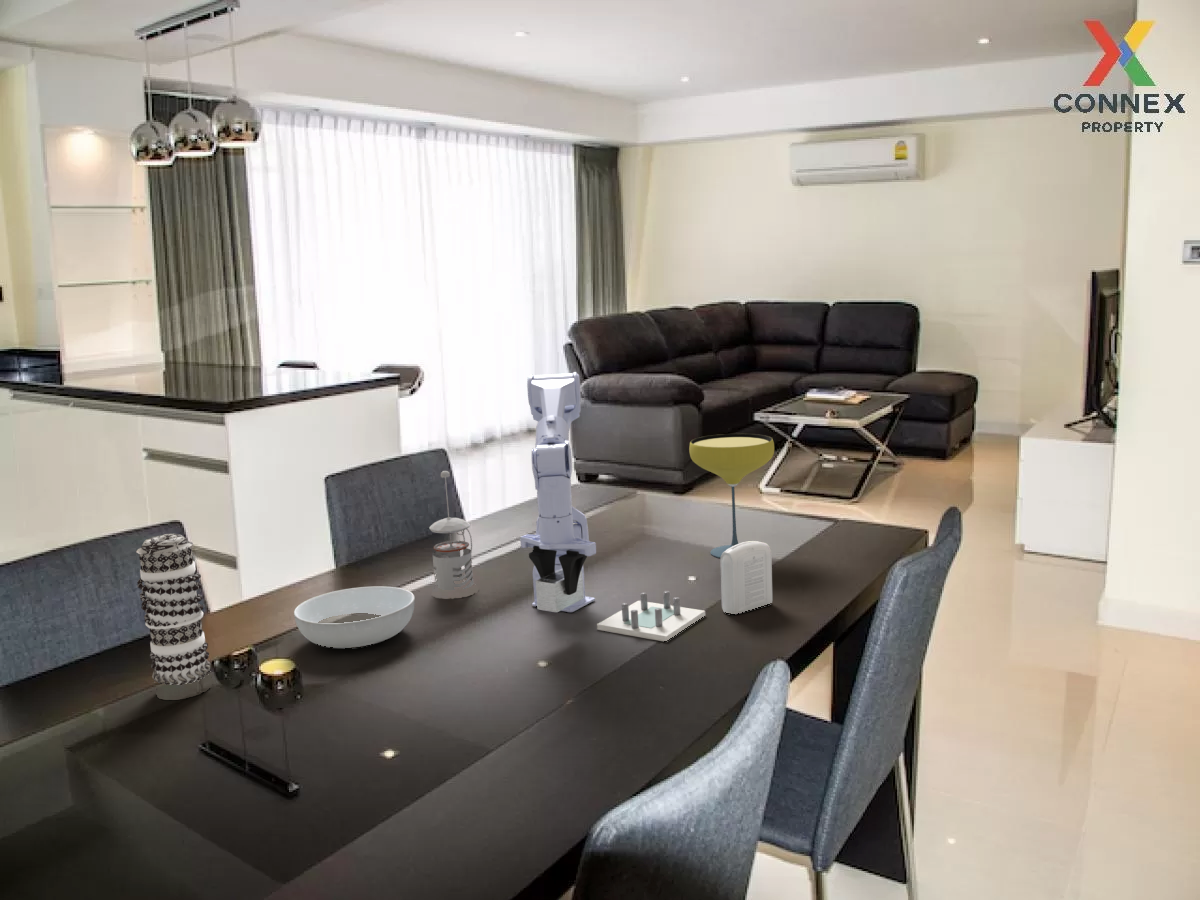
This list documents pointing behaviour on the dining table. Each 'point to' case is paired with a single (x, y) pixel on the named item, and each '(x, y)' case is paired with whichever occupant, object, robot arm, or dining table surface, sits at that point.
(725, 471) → the cocktail glass
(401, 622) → the serving bowl
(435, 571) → the french press
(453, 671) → the dining table surface
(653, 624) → the dock
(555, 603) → the block
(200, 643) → the decorative candle
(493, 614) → the dining table surface
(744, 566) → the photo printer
